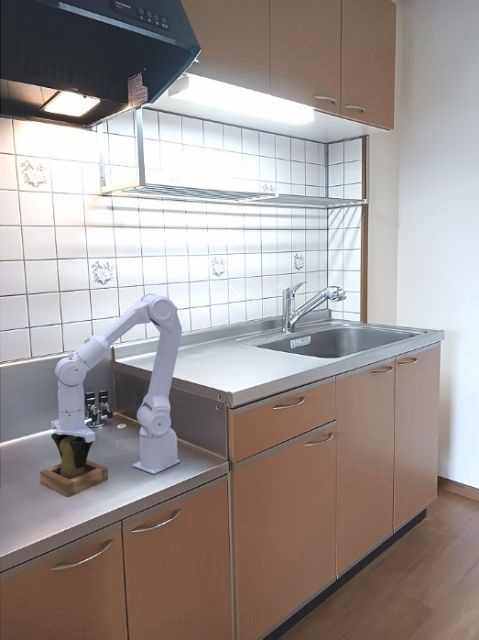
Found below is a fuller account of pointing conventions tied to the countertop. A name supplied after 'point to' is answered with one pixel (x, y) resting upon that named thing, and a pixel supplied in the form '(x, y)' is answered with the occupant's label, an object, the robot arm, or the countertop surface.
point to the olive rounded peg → (69, 460)
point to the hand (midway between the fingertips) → (73, 463)
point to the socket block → (77, 484)
